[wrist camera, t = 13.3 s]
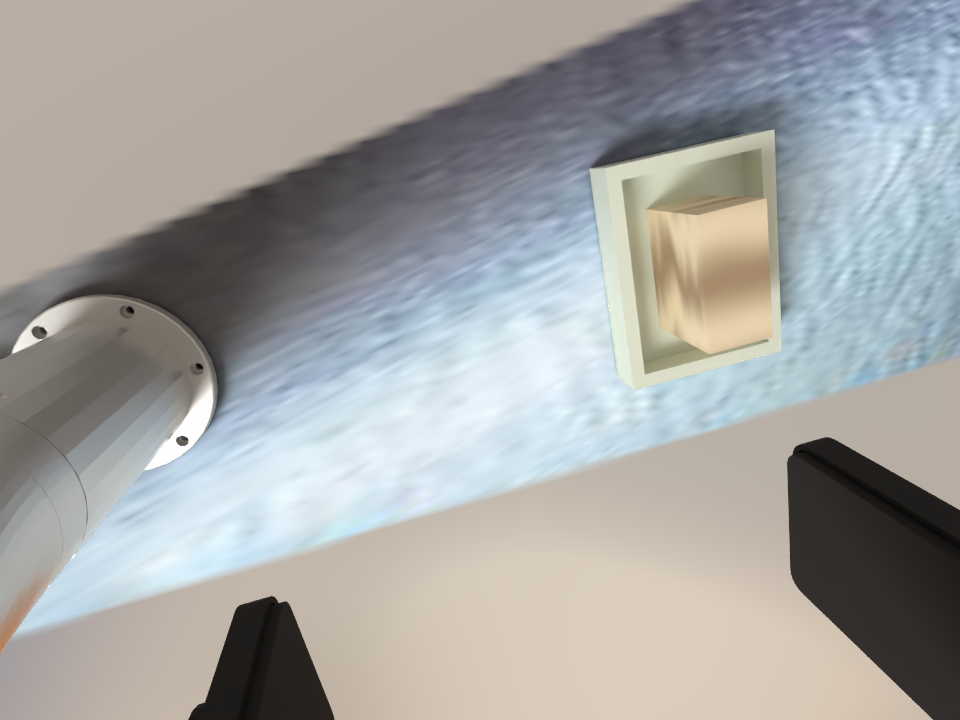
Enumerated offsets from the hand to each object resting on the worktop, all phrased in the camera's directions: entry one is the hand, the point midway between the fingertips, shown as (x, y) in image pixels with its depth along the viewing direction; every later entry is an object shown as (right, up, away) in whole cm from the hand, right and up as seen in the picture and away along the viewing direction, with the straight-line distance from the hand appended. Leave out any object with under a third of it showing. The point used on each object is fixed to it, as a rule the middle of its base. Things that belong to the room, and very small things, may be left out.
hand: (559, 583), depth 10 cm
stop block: (+14, +11, +32) cm, 37 cm away
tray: (+14, +11, +33) cm, 37 cm away
